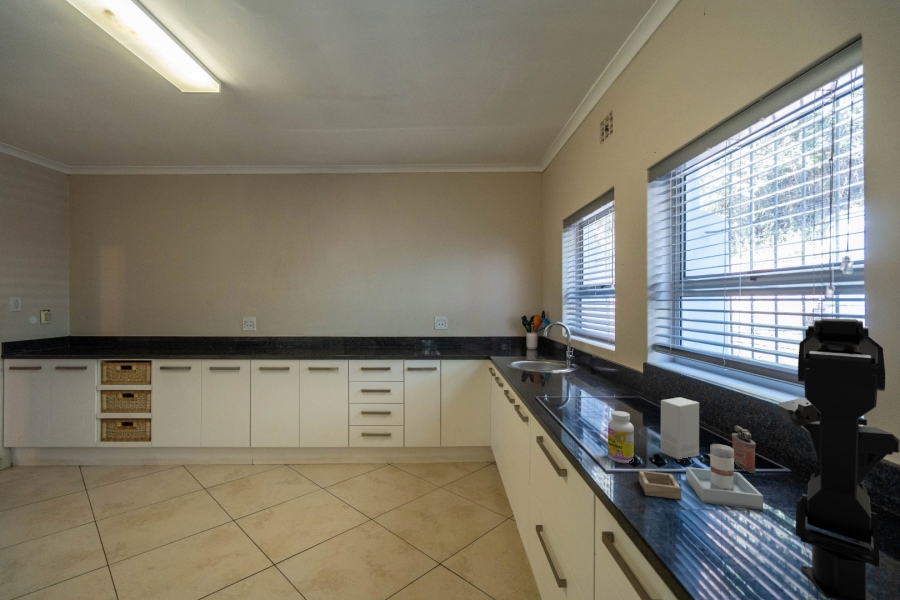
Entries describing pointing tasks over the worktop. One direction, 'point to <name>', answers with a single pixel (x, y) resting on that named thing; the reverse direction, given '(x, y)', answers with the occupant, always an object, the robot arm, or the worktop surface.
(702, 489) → the tray
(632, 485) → the worktop surface
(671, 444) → the skincare box
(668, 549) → the worktop surface
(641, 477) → the holder
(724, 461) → the white domed canister
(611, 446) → the supplement bottle
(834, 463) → the robot arm
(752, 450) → the lighter
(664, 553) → the worktop surface
